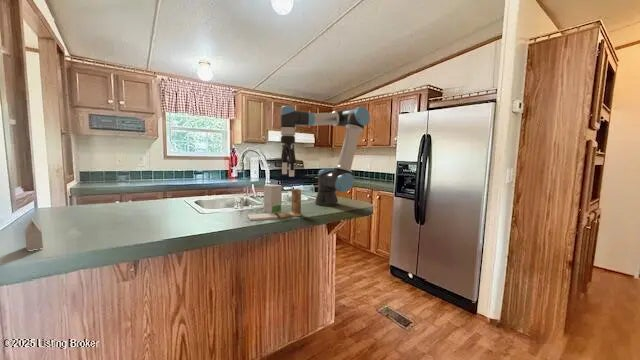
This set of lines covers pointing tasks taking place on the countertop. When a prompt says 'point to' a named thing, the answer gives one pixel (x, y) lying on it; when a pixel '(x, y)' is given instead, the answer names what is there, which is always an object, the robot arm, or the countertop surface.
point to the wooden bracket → (294, 205)
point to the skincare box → (272, 198)
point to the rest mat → (262, 216)
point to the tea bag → (33, 236)
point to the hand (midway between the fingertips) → (287, 175)
